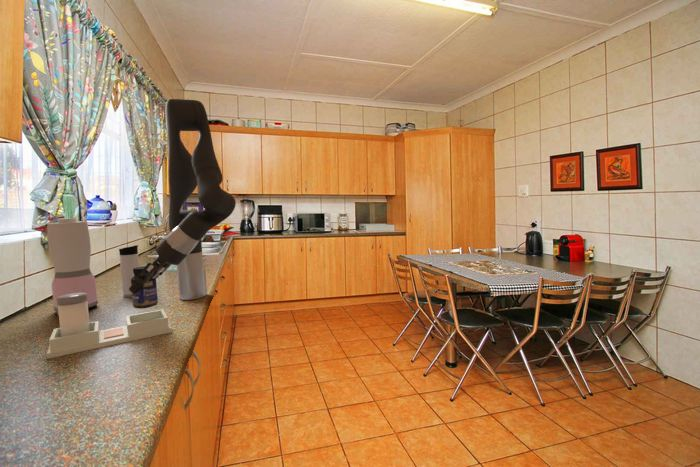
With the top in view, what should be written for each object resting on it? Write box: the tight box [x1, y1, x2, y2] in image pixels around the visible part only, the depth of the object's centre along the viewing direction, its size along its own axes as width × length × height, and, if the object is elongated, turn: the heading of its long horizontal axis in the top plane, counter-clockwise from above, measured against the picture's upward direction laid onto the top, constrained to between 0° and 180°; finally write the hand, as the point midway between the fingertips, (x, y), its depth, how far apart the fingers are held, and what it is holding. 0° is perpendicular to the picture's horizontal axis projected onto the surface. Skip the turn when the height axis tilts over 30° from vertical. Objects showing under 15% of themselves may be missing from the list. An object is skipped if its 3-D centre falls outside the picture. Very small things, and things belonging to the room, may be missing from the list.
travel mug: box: [118, 245, 140, 298], centre depth 141 cm, size 6×7×20 cm
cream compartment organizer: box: [45, 293, 173, 359], centre depth 96 cm, size 27×11×13 cm, turn 124°
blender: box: [46, 217, 99, 316], centre depth 125 cm, size 16×12×32 cm
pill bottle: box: [131, 265, 159, 310], centre depth 100 cm, size 6×6×11 cm
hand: (138, 288), depth 100 cm, fingers closed on pill bottle, 6 cm apart
